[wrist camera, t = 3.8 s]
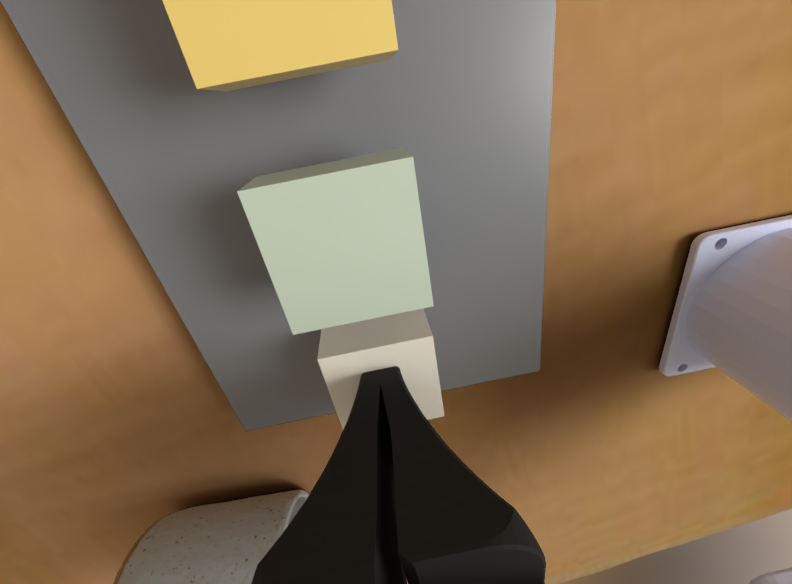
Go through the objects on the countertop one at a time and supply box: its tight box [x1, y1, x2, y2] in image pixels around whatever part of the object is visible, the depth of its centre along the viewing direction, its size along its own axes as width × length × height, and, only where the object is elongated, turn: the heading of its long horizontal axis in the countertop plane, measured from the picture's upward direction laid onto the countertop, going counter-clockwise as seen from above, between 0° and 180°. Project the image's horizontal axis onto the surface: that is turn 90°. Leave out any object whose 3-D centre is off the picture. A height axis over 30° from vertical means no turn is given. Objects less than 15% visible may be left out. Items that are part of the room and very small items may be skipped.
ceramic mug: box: [113, 489, 309, 584], centre depth 19 cm, size 11×8×8 cm
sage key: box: [237, 147, 434, 335], centre depth 10 cm, size 4×4×3 cm
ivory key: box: [317, 308, 445, 430], centre depth 14 cm, size 4×4×3 cm
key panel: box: [0, 0, 556, 431], centre depth 12 cm, size 14×18×1 cm
